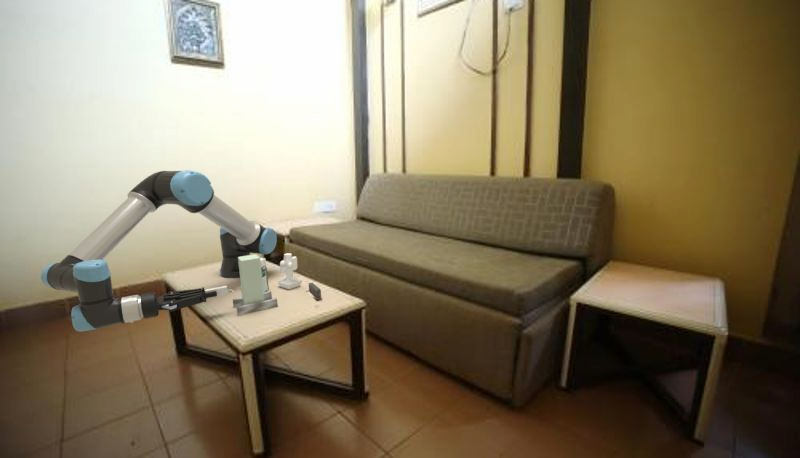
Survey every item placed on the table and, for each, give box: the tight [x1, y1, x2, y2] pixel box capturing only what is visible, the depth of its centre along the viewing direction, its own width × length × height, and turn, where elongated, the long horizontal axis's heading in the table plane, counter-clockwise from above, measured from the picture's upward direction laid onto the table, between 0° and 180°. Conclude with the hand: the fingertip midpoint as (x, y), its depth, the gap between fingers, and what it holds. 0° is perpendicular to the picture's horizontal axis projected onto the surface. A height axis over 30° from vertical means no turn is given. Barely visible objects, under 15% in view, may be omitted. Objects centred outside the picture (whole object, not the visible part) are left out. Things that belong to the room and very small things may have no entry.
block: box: [238, 253, 264, 305], centre depth 126 cm, size 6×6×18 cm
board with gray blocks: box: [232, 282, 323, 317], centre depth 132 cm, size 30×10×4 cm, turn 123°
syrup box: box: [259, 257, 270, 293], centre depth 140 cm, size 6×6×14 cm
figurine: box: [276, 252, 304, 291], centre depth 146 cm, size 7×9×15 cm
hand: (227, 290), depth 121 cm, fingers closed
